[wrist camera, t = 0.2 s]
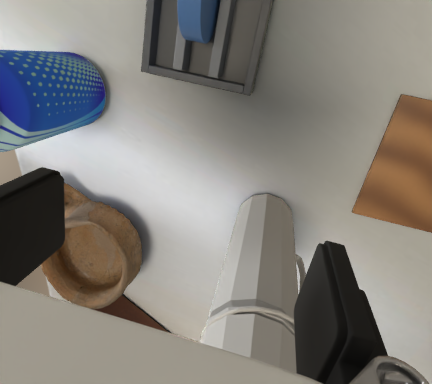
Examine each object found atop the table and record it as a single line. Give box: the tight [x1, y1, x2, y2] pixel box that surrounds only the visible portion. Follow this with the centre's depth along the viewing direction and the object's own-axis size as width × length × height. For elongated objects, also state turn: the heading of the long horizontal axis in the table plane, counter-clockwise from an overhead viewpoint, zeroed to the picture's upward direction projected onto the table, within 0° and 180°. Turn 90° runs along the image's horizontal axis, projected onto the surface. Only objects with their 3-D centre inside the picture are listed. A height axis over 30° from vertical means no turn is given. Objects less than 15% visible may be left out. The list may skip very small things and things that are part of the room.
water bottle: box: [200, 194, 306, 373], centre depth 29 cm, size 9×8×25 cm
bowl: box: [41, 183, 142, 309], centre depth 42 cm, size 18×14×10 cm
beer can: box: [0, 50, 106, 152], centre depth 32 cm, size 8×8×16 cm
